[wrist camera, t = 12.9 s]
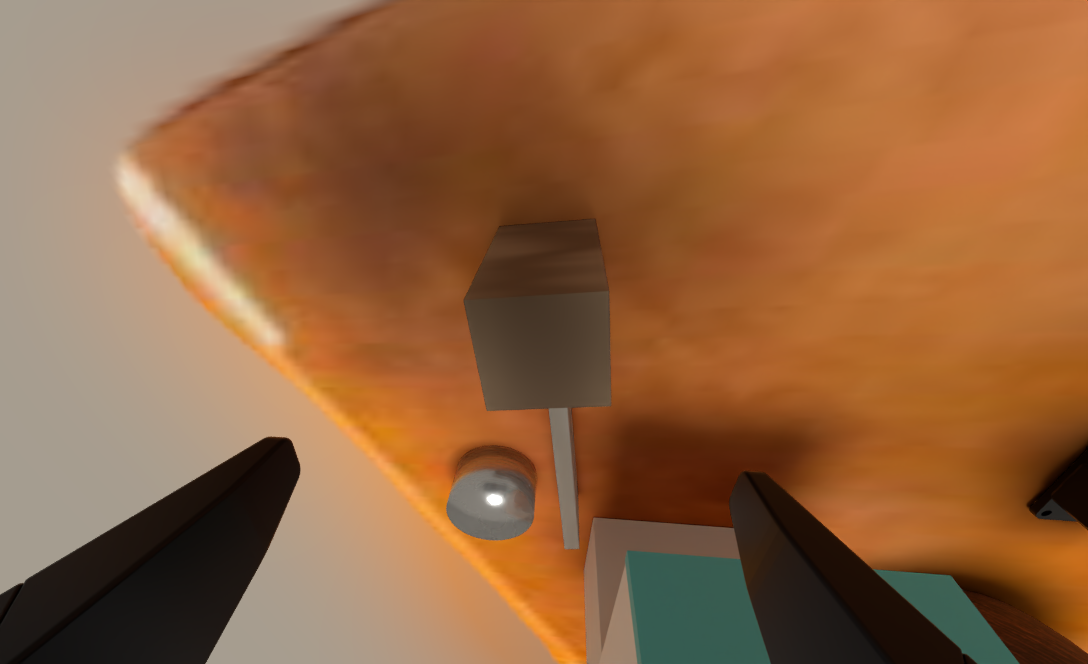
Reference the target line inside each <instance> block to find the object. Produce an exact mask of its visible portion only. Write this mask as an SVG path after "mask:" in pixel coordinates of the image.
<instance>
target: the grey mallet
mask: <svg viewBox="0 0 1088 664" xmlns="http://www.w3.org/2000/svg"><path fill="white" fill-rule="evenodd" d="M464 305H465V310H466V314H467V319H468V324H469V329H470V333H471V338H472V343H473V348H474V352H475V357H476V362H477V367H478V371H479V376H480V381H481V386H482V390H483V395H484V400H485V405H486V409H487V411H496V410H523V409H549V416H550V425H551V434H552V442H553V451H554V460H555V468H556V477H557V486H558V495H559V503H560V512H561V521H562V530H563V538H564V547H565V549H579V507H578V486H577V473H576V460H575V448H574V435H573V423H572V410H571V408H576V407H602V406H611V365H610V308H609V287H608V282H607V277H606V272H605V266H604V261H603V256H602V251H601V245H600V240H599V235H598V230H597V224H596V219H586V220H573V221H560V222H548V223H535V224H522V225H509V226H499V228H498V230H497V232H496V235H495V237H494V239H493V241H492V243H491V245H490V247H489V249H488V251H487V253H486V255H485V257H484V259H483V261H482V263H481V265H480V267H479V269H478V271H477V273H476V276H475V278H474V280H473V282H472V284H471V286H470V288H469V290H468V292H467V294H466V296H465V298H464Z"/></svg>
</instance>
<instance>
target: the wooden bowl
mask: <svg viewBox="0 0 1088 664" xmlns="http://www.w3.org/2000/svg"><path fill="white" fill-rule="evenodd" d="M963 592H964V593H965V594H966V596H967V597H968V598H969V599H970V601H971V602H972V603H973V605H974V606H975V607H976V608H977V610H978V611H979V612H980V614H981V615H982V616H983V617H984V619H985V620H986V621H987V623H988V624H989V625H990V626H991V628H992V629H993V630H994V632H995V633H996V634H997V635H998V637H999V638H1000V639H1001V641H1002V642H1003V643H1004V644H1005V646H1006V647H1007V648H1008V650H1009V651H1010V652H1011V653H1012V655H1013V656H1014V657H1015V658H1016V660H1017V661H1018V662H1019V664H1088V654H1087V653H1086V652H1085V651H1083V650H1082V649H1081V648H1079V647H1078V646H1076V645H1075V644H1074V643H1072V642H1071V641H1070V640H1068V639H1067V638H1065V637H1064V636H1062V635H1060V634H1059V633H1057V632H1056V631H1054V630H1052V629H1051V628H1049V627H1048V626H1046V625H1044V624H1043V623H1041V622H1040V621H1038V620H1036V619H1035V618H1033V617H1032V616H1030V615H1028V614H1026V613H1024V612H1022V611H1020V610H1018V609H1016V608H1014V607H1012V606H1011V605H1008V604H1006V603H1004V602H1002V601H1000V600H997V599H994V598H991V597H988V596H985V595H982V594H978V593H975V592H971V591H967V590H963Z"/></svg>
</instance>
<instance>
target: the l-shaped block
mask: <svg viewBox="0 0 1088 664" xmlns="http://www.w3.org/2000/svg"><path fill="white" fill-rule="evenodd" d="M873 570H874V569H873ZM874 571H875V572H876V573H877V574H878V575H879V576H881V577H882V578H883V579H884V580H885V581H886V582H887V583H888V584H889V585H891V586H892V587H893V588H894V589H895V590H896V591H897V592H898V593H899V594H901V595H902V596H903V597H904V598H905V599H906V600H907V601H908V602H909V603H911V604H912V605H913V606H914V607H915V608H916V609H917V610H918V611H919V612H921V613H922V614H923V615H924V616H925V617H926V618H927V619H928V620H929V621H931V622H932V623H933V624H934V625H935V626H936V627H937V628H938V629H939V630H941V631H942V632H943V633H944V634H945V635H946V636H947V637H948V638H949V639H951V640H952V641H953V642H954V643H955V644H956V645H957V646H958V647H959V648H960V649H961V650H962V654H967V655H969V656H970V657H971V658H972V659H973V660H974V661H975V662H976V663H977V664H1019V662H1018V661H1017V660H1016V658H1015V657H1014V656H1013V655H1012V653H1011V652H1010V651H1009V650H1008V648H1007V647H1006V646H1005V644H1004V643H1003V642H1002V641H1001V639H1000V638H999V637H998V635H997V634H996V633H995V632H994V630H993V629H992V628H991V626H990V625H989V624H988V623H987V621H986V620H985V619H984V617H983V616H982V615H981V614H980V612H979V611H978V610H977V608H976V607H975V606H974V605H973V603H972V602H971V601H970V599H969V598H968V597H967V596H966V594H965V593H964V592H963V590H962V589H961V588H960V587H959V585H958V584H957V583H956V582H955V580H954V579H953V578H952V576H951V575H939V574H926V573H913V572H900V571H887V570H874ZM584 591H585V620H586V650H587V664H771V663H770V660H769V657H768V653H767V650H766V647H765V644H764V641H763V638H762V635H761V632H760V629H759V625H758V622H757V619H756V616H755V613H754V610H753V607H752V604H751V600H750V597H749V594H748V590H747V587H746V583H745V578H744V574H743V569H742V565H741V560H740V555H739V551H738V546H737V541H736V537H735V532H734V528H725V527H712V526H699V525H686V524H673V523H660V522H647V521H634V520H621V519H608V518H595V517H593V523H592V528H591V534H590V539H589V545H588V550H587V556H586V562H585V567H584Z"/></svg>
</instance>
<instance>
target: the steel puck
mask: <svg viewBox="0 0 1088 664" xmlns="http://www.w3.org/2000/svg"><path fill="white" fill-rule="evenodd" d="M536 479H537V474H536V469H535V467H534V465H533V464H532V462H531V461H530V460H529V459H528V458H527V457H526V456H525V455H523V454H522V453H520V452H518V451H516V450H514V449H511V448H508V447H503V446H494V445H492V446H482V447H478V448H475V449H473V450H471V451H469V452H468V453H466V454H465V455H464V456H463V457H462V458H461V460H460V461H459V464H458V467H457V471H456V474H455V478H454V481H453V485H452V488H451V492H450V495H449V499H448V502H447V508H446V509H447V514H448V517H449V519H450V520H451V522H452V523H453V524H454V525H455V526H456V527H457V528H458V529H460V530H461V531H463V532H464V533H466V534H468V535H471V536H473V537H477V538H481V539H486V540H505V539H510V538H514V537H516V536H519V535H521V534H522V533H524V532H525V531H526V530H527V529H528V528H529V527H530V526H531V524H532V522H533V519H534V506H535V493H536Z"/></svg>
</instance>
